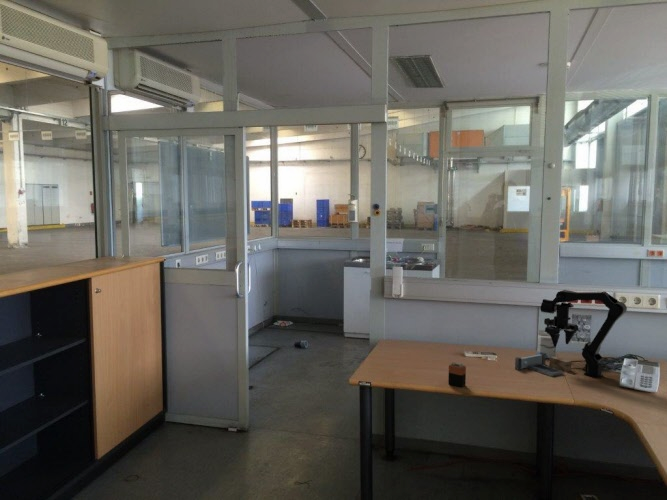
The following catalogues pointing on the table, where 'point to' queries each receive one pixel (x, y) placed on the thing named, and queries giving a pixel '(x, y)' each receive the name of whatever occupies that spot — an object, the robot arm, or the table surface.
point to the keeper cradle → (545, 370)
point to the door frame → (518, 361)
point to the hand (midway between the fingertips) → (560, 345)
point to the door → (531, 360)
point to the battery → (457, 374)
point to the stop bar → (560, 363)
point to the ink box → (545, 344)
